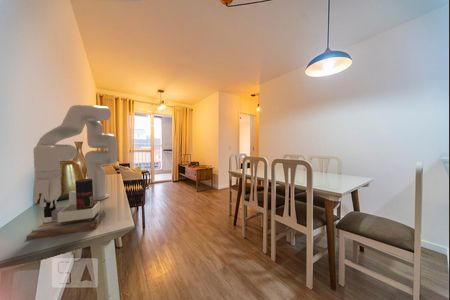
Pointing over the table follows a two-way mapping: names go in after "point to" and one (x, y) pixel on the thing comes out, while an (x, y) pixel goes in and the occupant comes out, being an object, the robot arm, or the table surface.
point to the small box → (72, 197)
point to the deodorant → (84, 194)
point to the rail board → (65, 227)
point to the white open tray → (74, 213)
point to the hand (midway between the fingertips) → (50, 216)
